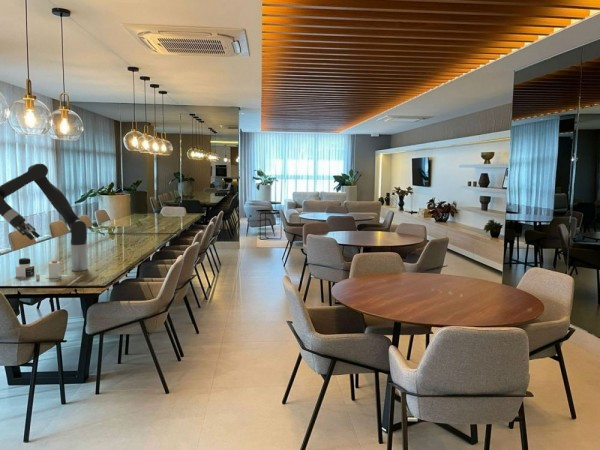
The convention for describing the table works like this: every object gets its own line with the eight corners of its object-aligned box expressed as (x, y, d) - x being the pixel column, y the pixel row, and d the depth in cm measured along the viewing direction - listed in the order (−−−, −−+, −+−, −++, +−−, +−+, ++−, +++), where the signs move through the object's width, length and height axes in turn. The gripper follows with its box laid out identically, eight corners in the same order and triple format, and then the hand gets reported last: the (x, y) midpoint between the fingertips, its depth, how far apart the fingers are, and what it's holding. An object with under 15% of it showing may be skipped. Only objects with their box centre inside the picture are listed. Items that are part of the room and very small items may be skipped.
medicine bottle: (25, 279, 279) (25, 259, 278) (15, 278, 281) (14, 259, 279) (34, 276, 286) (34, 257, 285) (25, 275, 288) (24, 256, 286)
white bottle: (49, 278, 277) (48, 261, 276) (52, 276, 282) (51, 260, 281) (58, 278, 278) (57, 261, 277) (61, 276, 283) (60, 260, 282)
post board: (44, 276, 287) (44, 268, 287) (68, 276, 287) (68, 269, 287) (26, 283, 269) (26, 275, 268) (52, 284, 268) (51, 276, 268)
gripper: (13, 215, 264) (35, 235, 267) (24, 213, 278) (45, 232, 281) (3, 224, 263) (26, 244, 267) (14, 221, 277) (35, 240, 281)
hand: (35, 238), depth 274 cm, fingers open, 8 cm apart
